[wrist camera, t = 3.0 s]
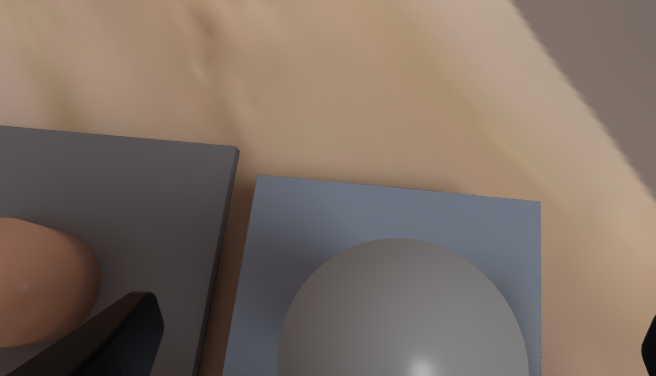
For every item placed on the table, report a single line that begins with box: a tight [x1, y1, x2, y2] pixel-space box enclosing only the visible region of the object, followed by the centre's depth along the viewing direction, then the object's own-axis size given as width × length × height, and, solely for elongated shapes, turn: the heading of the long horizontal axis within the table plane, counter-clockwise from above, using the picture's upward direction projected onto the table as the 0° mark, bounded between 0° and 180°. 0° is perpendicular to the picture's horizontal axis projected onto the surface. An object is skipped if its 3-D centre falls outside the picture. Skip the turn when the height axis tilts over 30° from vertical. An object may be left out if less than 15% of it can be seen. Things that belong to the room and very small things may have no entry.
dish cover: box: [222, 174, 541, 376], centre depth 10 cm, size 8×8×11 cm
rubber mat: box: [0, 126, 240, 376], centre depth 16 cm, size 12×12×1 cm
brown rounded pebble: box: [0, 218, 100, 348], centre depth 15 cm, size 4×4×2 cm
